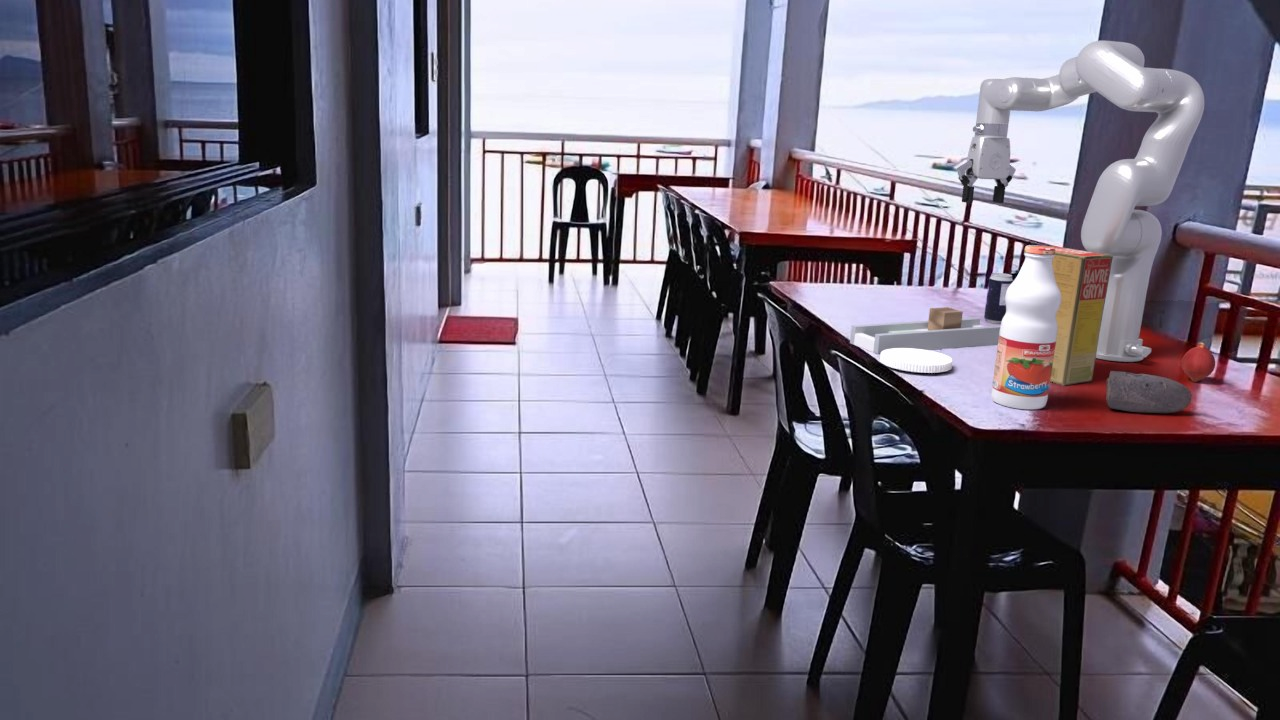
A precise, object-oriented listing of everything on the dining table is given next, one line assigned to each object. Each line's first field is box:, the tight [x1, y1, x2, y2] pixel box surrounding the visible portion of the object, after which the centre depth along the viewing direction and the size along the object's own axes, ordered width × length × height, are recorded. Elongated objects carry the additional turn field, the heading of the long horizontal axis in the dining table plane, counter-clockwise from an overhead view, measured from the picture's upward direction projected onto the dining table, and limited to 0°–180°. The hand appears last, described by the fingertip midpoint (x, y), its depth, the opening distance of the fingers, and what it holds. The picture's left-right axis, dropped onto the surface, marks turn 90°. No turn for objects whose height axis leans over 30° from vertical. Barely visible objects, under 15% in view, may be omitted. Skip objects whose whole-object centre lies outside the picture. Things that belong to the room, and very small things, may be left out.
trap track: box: [849, 317, 1001, 355], centre depth 214 cm, size 10×35×4 cm, turn 113°
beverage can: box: [983, 272, 1014, 325], centre depth 239 cm, size 6×6×12 cm
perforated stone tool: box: [1105, 370, 1193, 414], centre depth 168 cm, size 15×5×7 cm, turn 81°
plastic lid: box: [879, 348, 954, 374], centre depth 194 cm, size 14×14×2 cm
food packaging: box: [1048, 245, 1113, 387], centre depth 188 cm, size 13×9×25 cm
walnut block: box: [927, 306, 963, 330], centre depth 215 cm, size 5×5×5 cm
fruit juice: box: [990, 244, 1061, 410], centre depth 168 cm, size 9×9×28 cm
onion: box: [1180, 342, 1216, 382], centre depth 190 cm, size 6×6×8 cm
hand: (982, 202), depth 238 cm, fingers open, 9 cm apart
